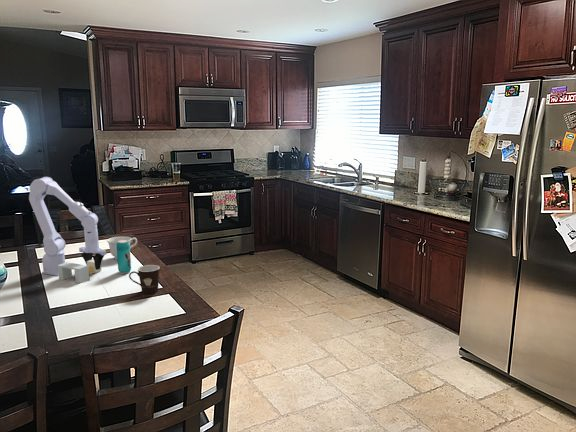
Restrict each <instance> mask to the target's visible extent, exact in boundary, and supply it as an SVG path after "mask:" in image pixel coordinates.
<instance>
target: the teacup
mask: <svg viewBox="0 0 576 432" xmlns="http://www.w3.org/2000/svg"><path fill="white" fill-rule="evenodd" d="M119 240H129V244H130V250H131V249H132V248H134V247H135V246H136V245H138V239H137V238H136V237H131V236H123V235H122V236H120V235H119V236H112V237H110V238H108V239H107V240H106V242H107V243H108V246H109V252H110V254H111V256H112V257H114V260H117V246H116V244H117V241H119ZM133 241H135V242H134V244H131V243H133ZM117 261H118V260H117Z"/></svg>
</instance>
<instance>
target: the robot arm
mask: <svg viewBox="0 0 576 432" xmlns="http://www.w3.org/2000/svg"><path fill="white" fill-rule="evenodd" d="M28 194H29V195H28V200H29V203H30V206H31V208H32V210H33V213H34V215H35V218H36V220H37V223H38V225H39V227H40V229H41V233H42V235H43V240H42V243H43V251H44V254H43V256H42V258H41V260H42V263H41V264H42V271H41V273H42V274H45V275H50V276H55V277H56V276H57V277H58V276H59V274H58V265H60V264H63V263H66V257H65V251H64V249H65V248H66V246H67V245H66V241H65V240H64V239H63V238H62V236H61V234H60V233H58V232H57V230H56V228H55V225H54V223H53V220H52V218H51V215H50V212H49V210H48V207H47V205H46V203H45V201H44V199H45V197H46V196H47V195H51V196H54V197H56V198H57V199H58V200H60V201H61V202H62V203H63V204H64V205H66V206H67V207H68V211H69V212H70V213H71V214H72V215H73V216H74V217H75V218H77V219H78V221H80V224H81V226H82V227H83V233H84V244H85V245H84V246H81V247H79V248H78V251H79V253H81V254H80V255H81V257H82V258H83V260H84V262H85V265H87V261H89V260H92V259H94V262H95V268H96V270H98V269H100V267H101V268H102V261H103V259H104V257H105V256H107V250H106V249H105V250H104V249H102V248H100V245H99V232H98V222H99V217H98V215H97V214H96V213H94V212H92V211H90V210H88V209H87V208H86V207H85V206H84V203H82V202H81V201H75V200H73V198H71V196H70V195H69V194H68V193H67V192H65V190H63V188H62V187H60V185H59V184H58V183H57V181H55V180H53V178H52V177H49V176H43V177H41V178H37V179H34V180H33V181H32V182H31V184H30V185H29V193H28Z"/></svg>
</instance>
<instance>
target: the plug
mask: <svg viewBox="0 0 576 432" xmlns="http://www.w3.org/2000/svg"><path fill="white" fill-rule="evenodd" d="M87 266H88V273H89V275H92V274H96V273H98V272H101V271H102V266H101V267H100V269H98V270H96V268H95V262H94V259H93V258H92V260H89V261H87ZM73 272H74V273H75V270H74V271H73Z"/></svg>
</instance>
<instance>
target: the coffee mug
mask: <svg viewBox="0 0 576 432" xmlns="http://www.w3.org/2000/svg"><path fill="white" fill-rule="evenodd" d="M128 274H129V275H128V277H129V280H130V281H132V282H133V283H135V284H137V285H139V287H140V288H141V293H142V294H144V295H153V294H156V293H158V291H159V285H160V284H159V281H160V266H159V265H156V264H147V265H143V266H140V267H139V266H138V268H137V271H130V272H129V273H128ZM133 274H137V276H138V277H139V282H140V283H139V282H138V281H136V280H134V278H132V276H131V275H133Z"/></svg>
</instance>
